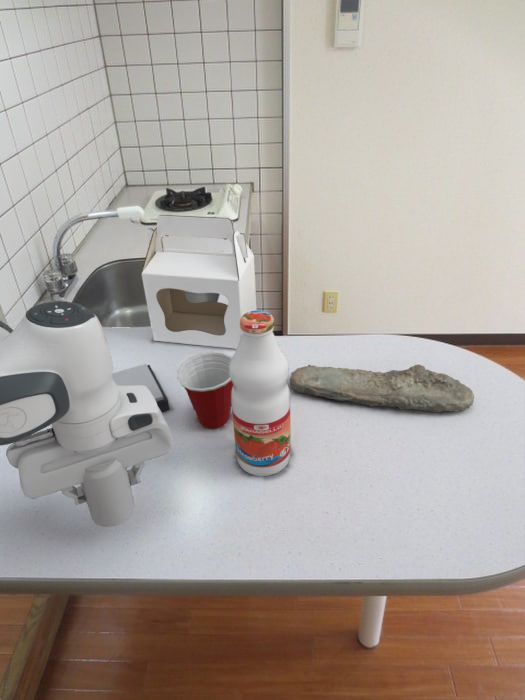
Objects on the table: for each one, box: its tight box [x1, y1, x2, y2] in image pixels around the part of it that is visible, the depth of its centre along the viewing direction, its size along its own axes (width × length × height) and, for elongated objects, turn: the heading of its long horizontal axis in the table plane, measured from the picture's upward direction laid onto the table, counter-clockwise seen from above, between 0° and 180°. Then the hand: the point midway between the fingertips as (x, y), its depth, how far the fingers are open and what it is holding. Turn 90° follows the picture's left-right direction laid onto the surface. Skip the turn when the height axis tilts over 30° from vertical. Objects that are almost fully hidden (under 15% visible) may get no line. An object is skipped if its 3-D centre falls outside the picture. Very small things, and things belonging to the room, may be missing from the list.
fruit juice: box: [229, 309, 292, 477], centre depth 83 cm, size 9×9×28 cm
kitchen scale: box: [112, 363, 170, 413], centre depth 103 cm, size 17×13×3 cm
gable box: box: [140, 214, 258, 350], centre depth 117 cm, size 22×13×28 cm, turn 77°
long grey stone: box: [288, 363, 475, 413], centre depth 102 cm, size 35×5×10 cm
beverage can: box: [80, 458, 136, 528], centre depth 74 cm, size 6×6×12 cm
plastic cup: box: [176, 351, 233, 430], centre depth 96 cm, size 11×11×12 cm
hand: (108, 490), depth 75 cm, fingers closed on beverage can, 6 cm apart
